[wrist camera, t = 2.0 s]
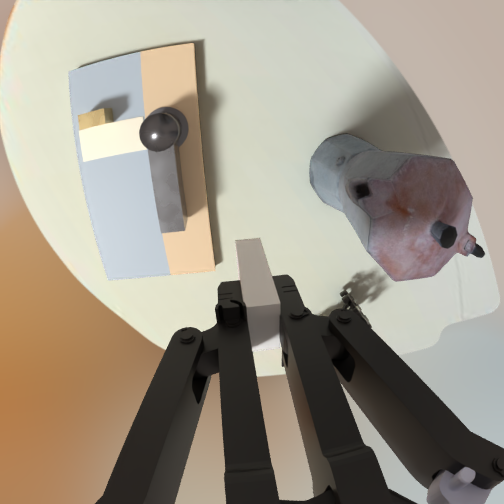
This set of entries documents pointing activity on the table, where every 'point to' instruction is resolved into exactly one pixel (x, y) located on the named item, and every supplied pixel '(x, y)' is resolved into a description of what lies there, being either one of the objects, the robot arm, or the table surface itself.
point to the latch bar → (165, 169)
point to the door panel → (141, 162)
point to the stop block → (95, 118)
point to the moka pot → (397, 204)
